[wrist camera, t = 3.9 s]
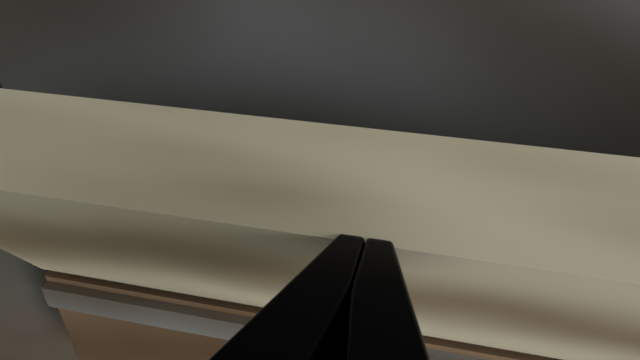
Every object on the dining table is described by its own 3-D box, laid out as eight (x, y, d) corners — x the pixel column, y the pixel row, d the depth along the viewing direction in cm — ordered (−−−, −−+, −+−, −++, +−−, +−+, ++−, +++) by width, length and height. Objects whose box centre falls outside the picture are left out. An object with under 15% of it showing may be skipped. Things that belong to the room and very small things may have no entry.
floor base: (690, 471, 20) (720, 575, 18) (121, 356, 24) (78, 427, 22) (1083, -79, 10) (1301, -19, 7) (-39, -115, 14) (-160, -86, 11)
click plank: (800, 316, 14) (811, 403, 13) (65, 206, 18) (41, 268, 17) (1130, 210, 8) (1190, 364, 7) (-117, 75, 12) (-169, 165, 11)
